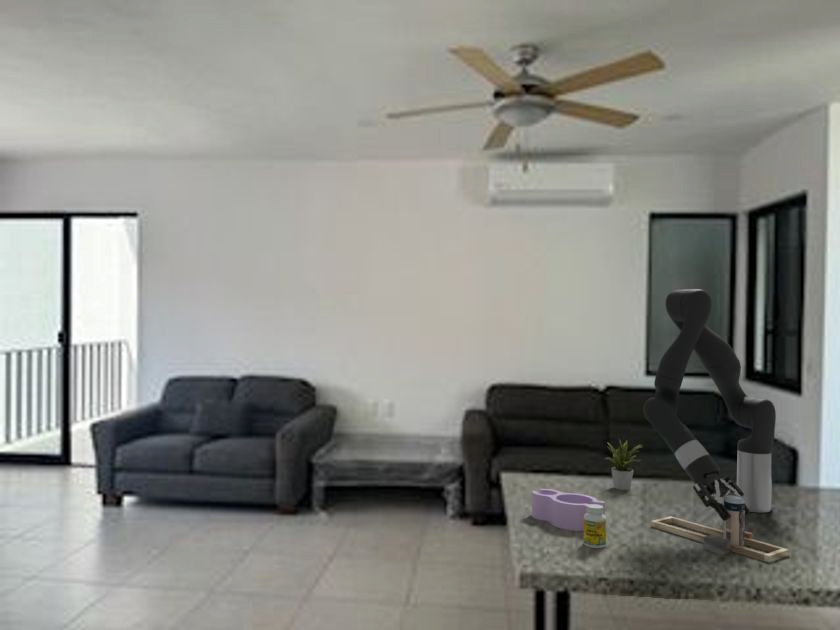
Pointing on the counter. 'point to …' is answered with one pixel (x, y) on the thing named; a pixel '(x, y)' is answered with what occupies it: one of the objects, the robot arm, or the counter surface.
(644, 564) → the counter surface
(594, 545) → the supplement bottle
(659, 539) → the counter surface
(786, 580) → the counter surface
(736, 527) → the beer can
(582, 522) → the clip
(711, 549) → the beam track
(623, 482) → the house plant
